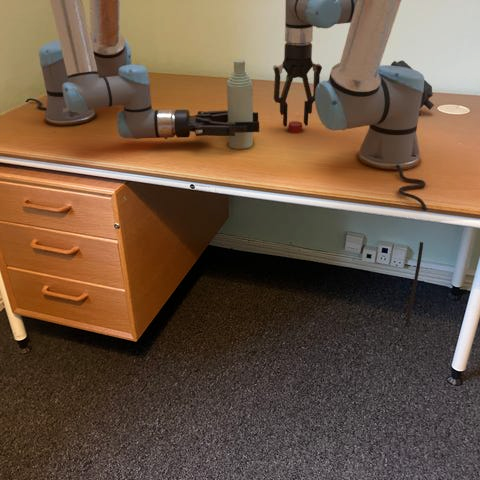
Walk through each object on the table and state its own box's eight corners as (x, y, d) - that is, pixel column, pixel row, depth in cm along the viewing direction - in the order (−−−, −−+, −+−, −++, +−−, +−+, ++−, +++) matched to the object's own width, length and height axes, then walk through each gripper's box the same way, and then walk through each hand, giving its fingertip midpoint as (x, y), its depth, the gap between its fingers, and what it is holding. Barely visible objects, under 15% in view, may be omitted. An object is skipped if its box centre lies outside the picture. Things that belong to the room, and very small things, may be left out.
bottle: (257, 143, 150) (257, 59, 138) (243, 150, 146) (242, 65, 133) (237, 138, 154) (236, 56, 141) (223, 145, 149) (220, 61, 137)
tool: (372, 91, 179) (399, 54, 168) (415, 128, 175) (445, 93, 164) (364, 95, 175) (390, 58, 165) (407, 134, 171) (437, 98, 160)
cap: (285, 129, 159) (285, 122, 158) (296, 127, 161) (296, 120, 160) (293, 133, 156) (293, 126, 155) (304, 131, 158) (305, 124, 156)
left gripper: (179, 124, 157) (257, 122, 157) (172, 150, 140) (260, 148, 140) (177, 99, 153) (257, 97, 153) (170, 122, 136) (260, 121, 136)
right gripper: (328, 38, 149) (323, 118, 161) (263, 40, 148) (262, 121, 160) (335, 44, 142) (329, 127, 155) (266, 46, 141) (265, 130, 153)
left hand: (258, 122), depth 146 cm, fingers closed on bottle, 7 cm apart
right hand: (295, 124), depth 157 cm, fingers open, 5 cm apart
